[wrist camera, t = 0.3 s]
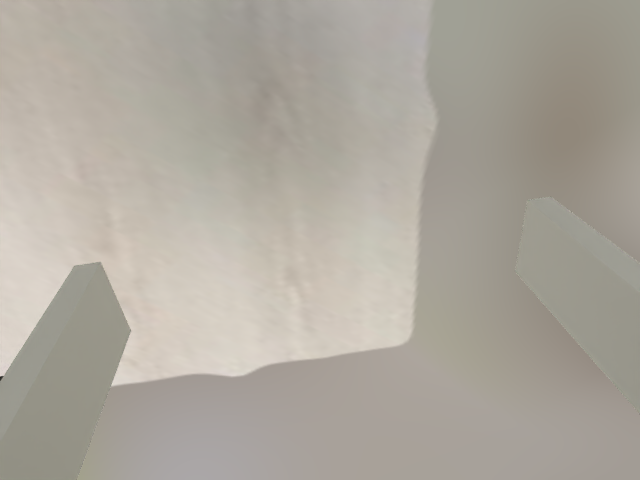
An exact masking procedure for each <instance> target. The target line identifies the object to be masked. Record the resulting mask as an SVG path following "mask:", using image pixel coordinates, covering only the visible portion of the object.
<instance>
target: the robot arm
mask: <svg viewBox="0 0 640 480" xmlns="http://www.w3.org/2000/svg"><path fill="white" fill-rule="evenodd" d="M515 272H516V273H517V274H518V275H519V276H520V278H521V279H522V280H523V281H524V282H525V283H526V285H527V286H528V287H529V288H530V289H531V290H532V291H533V293H534V294H535V295H536V296H537V297H538V298H539V299H540V301H541V302H542V303H543V304H544V305H545V306H546V307H547V309H548V310H549V311H550V312H551V313H552V314H553V315H554V316H555V318H556V319H557V320H558V321H559V322H560V323H561V324H562V326H563V327H564V328H565V329H566V330H567V331H568V333H569V334H570V335H571V336H572V337H573V338H574V339H575V341H576V342H577V343H578V344H579V345H580V346H581V347H582V349H583V350H584V351H585V352H586V353H587V354H588V355H589V357H590V358H591V359H592V360H593V361H594V362H595V363H596V365H597V366H598V367H599V368H600V369H601V370H602V371H603V373H604V374H605V375H606V376H607V377H608V378H609V379H610V381H611V382H612V383H613V384H614V385H615V386H616V387H617V389H618V390H619V391H620V392H621V393H622V394H623V395H624V397H625V398H626V399H627V400H628V401H629V402H630V403H631V405H632V406H633V407H634V408H635V409H636V410H637V411H638V413H639V414H640V263H639V262H638V261H636V260H635V259H634V258H632V257H631V256H630V255H628V254H627V253H625V252H624V251H623V250H622V249H620V248H619V247H618V246H616V245H615V244H614V243H612V242H611V241H610V240H608V239H607V238H606V237H604V236H603V235H602V234H600V233H599V232H598V231H596V230H595V229H594V228H592V227H591V226H589V225H588V224H587V223H585V222H584V221H583V220H581V219H580V218H579V217H577V216H576V215H575V214H573V213H572V212H570V211H569V210H568V209H567V208H565V207H564V206H563V205H561V204H560V203H559V202H557V201H556V200H555V199H553V198H552V197H545V198H538V199H531V200H527V205H526V211H525V217H524V222H523V228H522V234H521V240H520V246H519V252H518V257H517V263H516V270H515ZM130 332H131V329H130V327H129V325H128V323H127V320H126V318H125V316H124V314H123V311H122V309H121V307H120V304H119V302H118V300H117V298H116V295H115V293H114V291H113V289H112V286H111V284H110V282H109V279H108V277H107V275H106V273H105V270H104V268H103V266H102V264H101V262H97V263H91V264H84V265H77V266H74V267H73V269H72V271H71V272H70V274H69V275H68V277H67V278H66V280H65V281H64V283H63V285H62V286H61V288H60V289H59V291H58V292H57V294H56V295H55V297H54V299H53V300H52V302H51V303H50V305H49V306H48V308H47V309H46V311H45V313H44V314H43V316H42V317H41V319H40V320H39V322H38V323H37V325H36V327H35V328H34V330H33V331H32V333H31V334H30V336H29V337H28V339H27V341H26V342H25V344H24V345H23V347H22V348H21V350H20V351H19V353H18V355H17V356H16V358H15V359H14V361H13V362H12V364H11V366H10V367H9V369H8V370H7V372H6V373H5V375H4V376H1V377H0V480H77V477H78V475H79V472H80V469H81V467H82V464H83V461H84V458H85V455H86V453H87V450H88V447H89V445H90V442H91V439H92V436H93V434H94V431H95V428H96V425H97V423H98V420H99V417H100V414H101V412H102V409H103V406H104V403H105V400H106V398H107V395H108V392H109V390H110V387H111V384H112V381H113V379H114V376H115V373H116V370H117V368H118V365H119V362H120V359H121V357H122V354H123V351H124V348H125V346H126V343H127V340H128V337H129V335H130Z"/></svg>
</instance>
